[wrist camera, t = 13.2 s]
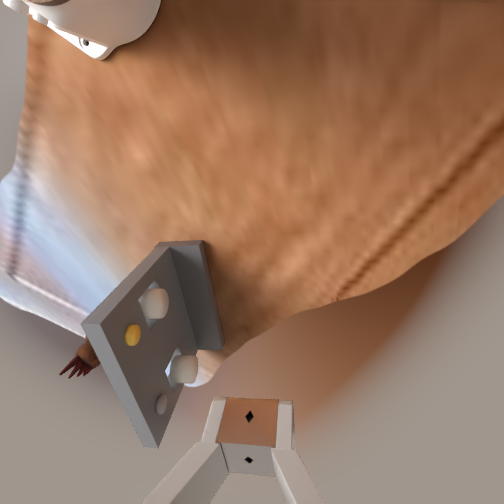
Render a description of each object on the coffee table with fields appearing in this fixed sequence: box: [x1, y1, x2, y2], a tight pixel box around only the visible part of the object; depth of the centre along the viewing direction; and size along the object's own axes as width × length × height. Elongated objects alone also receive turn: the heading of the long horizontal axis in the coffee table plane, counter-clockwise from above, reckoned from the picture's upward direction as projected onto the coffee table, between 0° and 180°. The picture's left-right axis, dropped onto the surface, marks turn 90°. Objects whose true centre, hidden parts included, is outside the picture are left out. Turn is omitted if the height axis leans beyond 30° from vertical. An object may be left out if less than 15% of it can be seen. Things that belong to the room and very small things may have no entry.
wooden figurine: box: [59, 335, 100, 378], centre depth 54 cm, size 7×6×15 cm
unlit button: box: [170, 355, 198, 384], centre depth 47 cm, size 3×4×4 cm
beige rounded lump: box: [139, 288, 169, 319], centre depth 41 cm, size 3×4×4 cm
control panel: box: [81, 240, 225, 448], centre depth 45 cm, size 8×24×21 cm, turn 7°
